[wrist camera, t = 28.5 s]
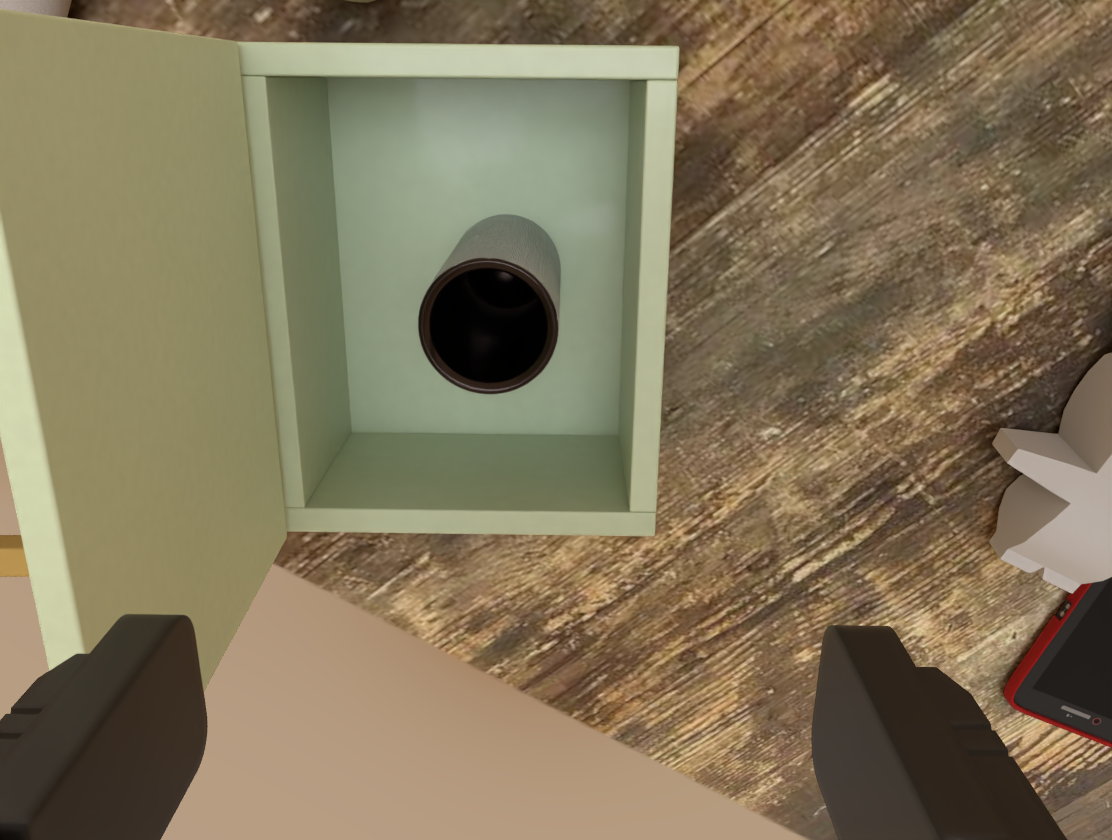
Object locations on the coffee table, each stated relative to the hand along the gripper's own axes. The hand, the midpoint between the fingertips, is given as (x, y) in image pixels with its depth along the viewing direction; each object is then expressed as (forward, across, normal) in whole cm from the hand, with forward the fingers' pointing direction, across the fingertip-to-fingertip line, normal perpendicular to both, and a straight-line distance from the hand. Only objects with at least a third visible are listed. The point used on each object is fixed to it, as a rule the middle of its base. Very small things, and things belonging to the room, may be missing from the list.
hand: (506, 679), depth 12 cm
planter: (+29, +2, 0) cm, 29 cm away
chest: (+30, +3, 0) cm, 30 cm away
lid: (+13, +9, 0) cm, 16 cm away
